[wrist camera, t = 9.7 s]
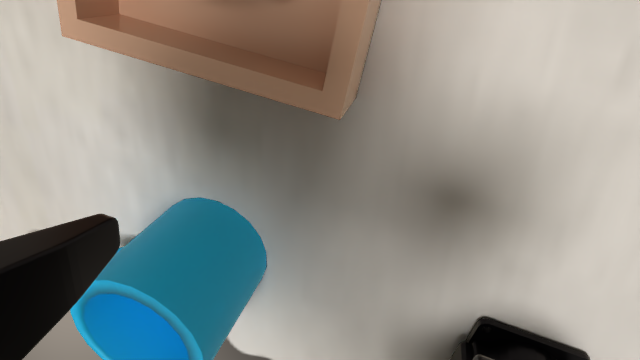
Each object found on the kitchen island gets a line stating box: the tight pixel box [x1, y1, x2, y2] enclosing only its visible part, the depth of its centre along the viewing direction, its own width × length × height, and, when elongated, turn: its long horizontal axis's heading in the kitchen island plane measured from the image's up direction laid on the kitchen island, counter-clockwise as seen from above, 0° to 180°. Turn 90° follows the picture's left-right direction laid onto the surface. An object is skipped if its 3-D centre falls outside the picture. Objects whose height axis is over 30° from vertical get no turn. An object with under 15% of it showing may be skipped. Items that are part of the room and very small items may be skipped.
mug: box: [70, 198, 267, 360], centre depth 24 cm, size 12×8×8 cm
